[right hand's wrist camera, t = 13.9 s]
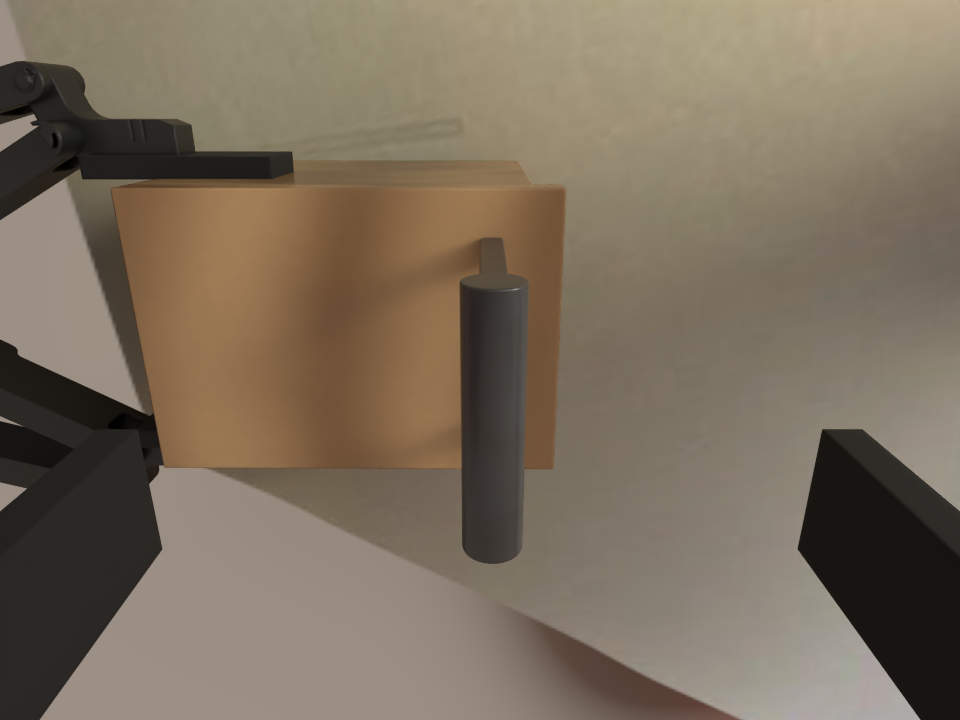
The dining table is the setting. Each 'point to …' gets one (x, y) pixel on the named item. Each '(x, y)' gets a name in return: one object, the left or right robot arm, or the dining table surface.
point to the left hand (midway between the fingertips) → (296, 304)
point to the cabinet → (385, 174)
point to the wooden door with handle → (354, 331)
